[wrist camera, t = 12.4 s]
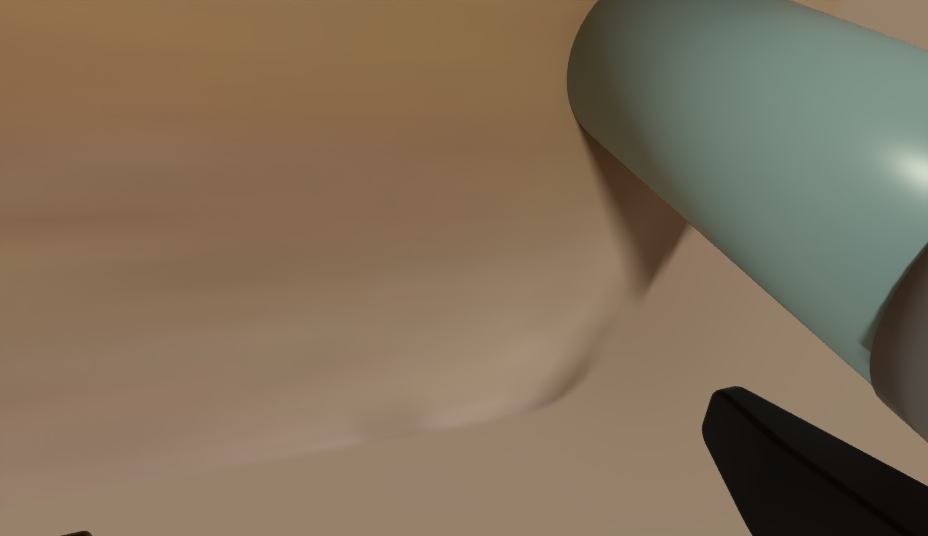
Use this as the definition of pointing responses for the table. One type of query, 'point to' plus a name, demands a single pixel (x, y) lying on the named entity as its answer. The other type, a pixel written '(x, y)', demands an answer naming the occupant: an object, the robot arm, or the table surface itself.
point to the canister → (781, 160)
